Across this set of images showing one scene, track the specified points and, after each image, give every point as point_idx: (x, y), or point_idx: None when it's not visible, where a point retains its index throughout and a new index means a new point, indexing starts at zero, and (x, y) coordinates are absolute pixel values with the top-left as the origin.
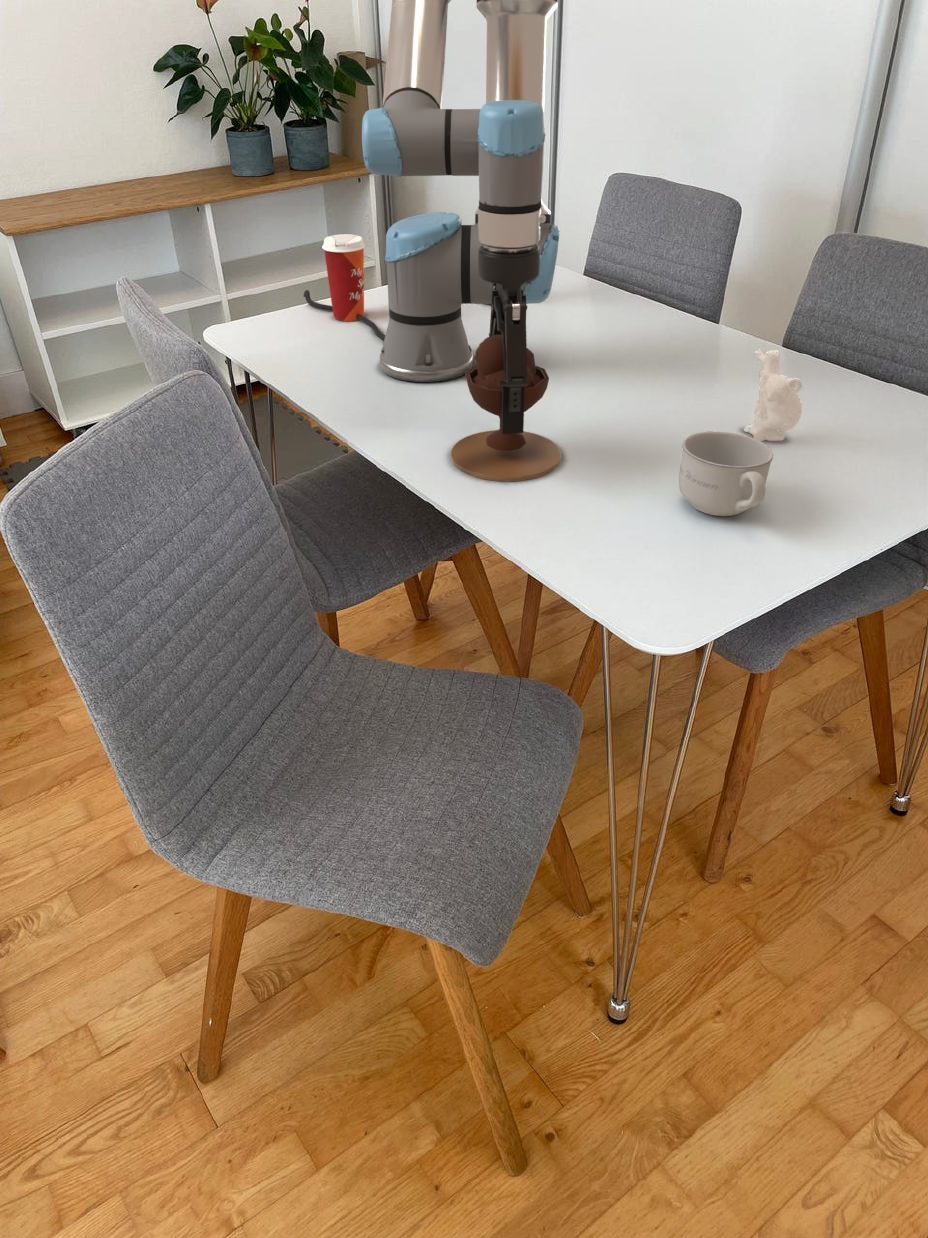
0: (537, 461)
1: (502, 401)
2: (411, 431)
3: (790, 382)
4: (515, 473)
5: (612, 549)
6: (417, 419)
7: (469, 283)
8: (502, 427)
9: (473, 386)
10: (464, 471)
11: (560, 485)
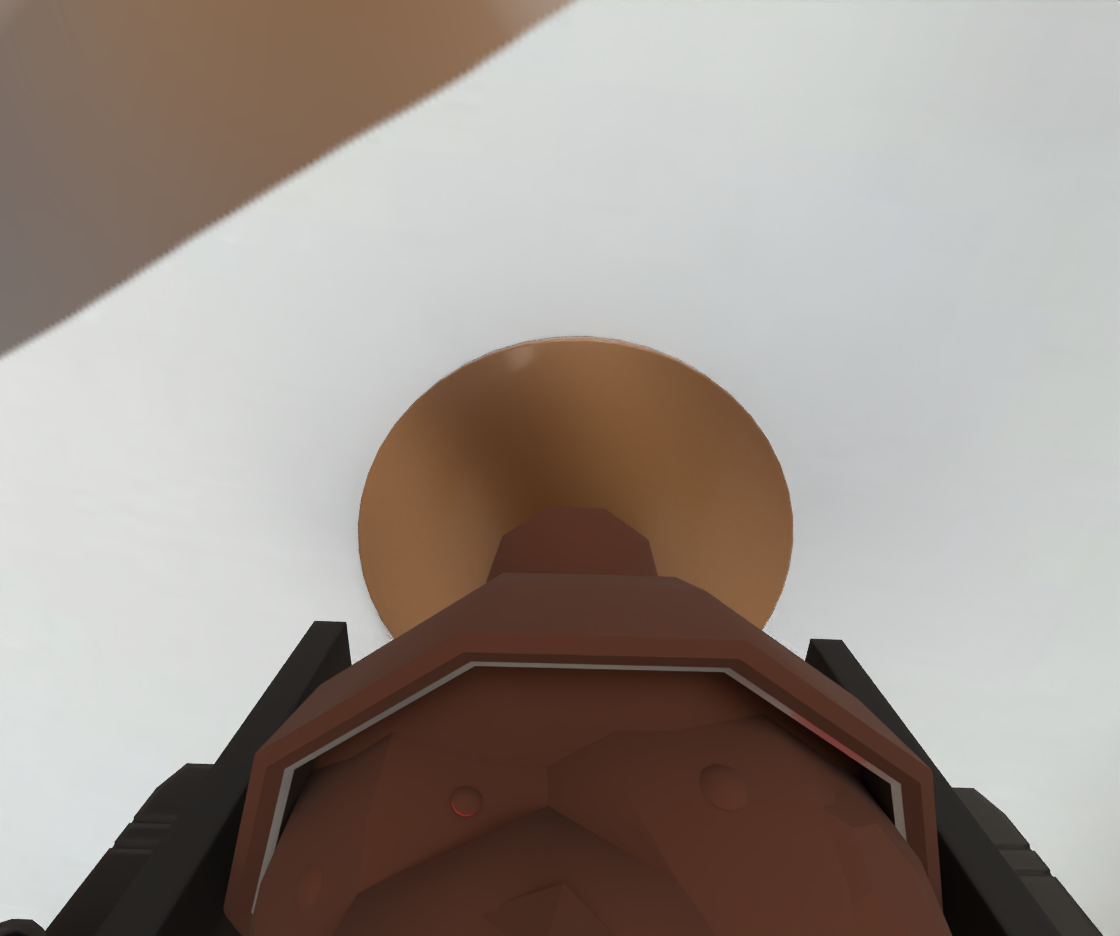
0: None
1: (233, 778)
2: (947, 169)
3: None
4: (388, 562)
5: None
6: (1080, 219)
7: None
8: (302, 643)
9: (401, 656)
10: (446, 376)
11: None
